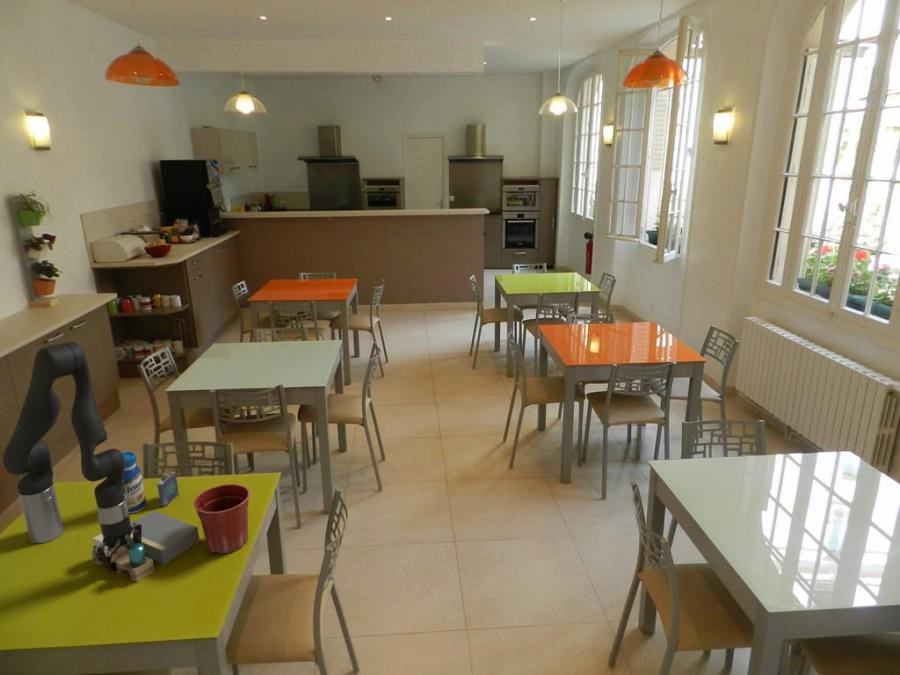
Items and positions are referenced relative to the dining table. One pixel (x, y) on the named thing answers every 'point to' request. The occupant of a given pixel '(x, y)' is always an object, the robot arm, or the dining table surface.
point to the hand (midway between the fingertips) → (123, 564)
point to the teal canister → (136, 555)
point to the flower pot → (224, 516)
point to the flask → (167, 488)
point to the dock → (165, 536)
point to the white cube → (99, 541)
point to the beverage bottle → (133, 484)
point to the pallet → (124, 564)
